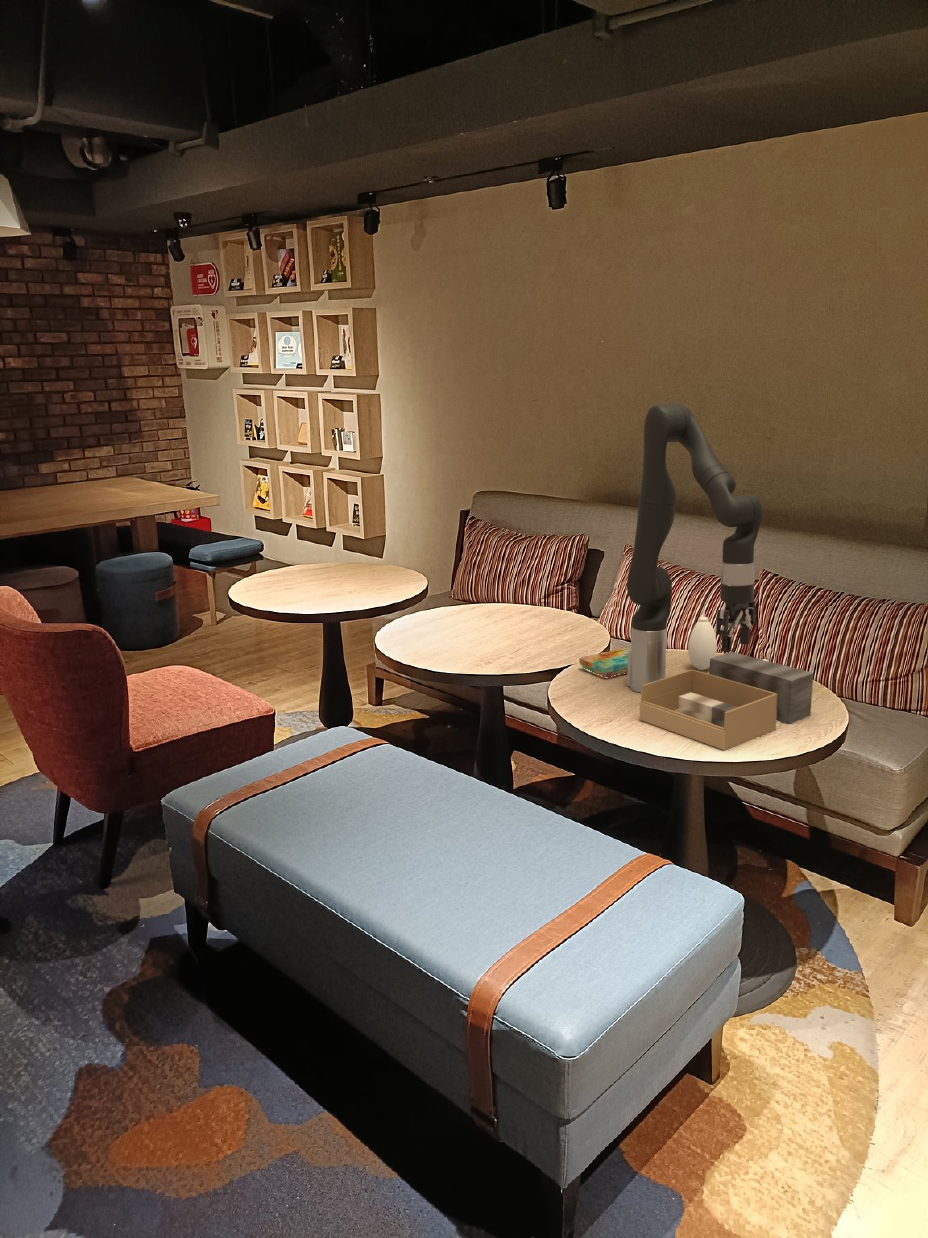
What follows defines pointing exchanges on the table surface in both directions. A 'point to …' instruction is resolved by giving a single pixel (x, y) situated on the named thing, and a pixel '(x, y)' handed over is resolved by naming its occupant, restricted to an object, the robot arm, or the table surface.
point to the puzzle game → (607, 662)
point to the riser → (769, 682)
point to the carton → (739, 723)
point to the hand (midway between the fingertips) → (735, 647)
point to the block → (704, 708)
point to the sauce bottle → (702, 644)
